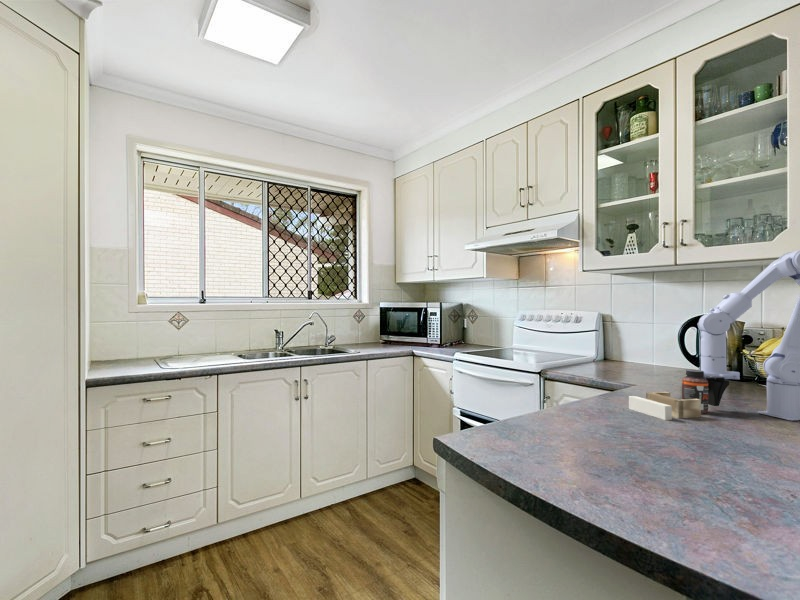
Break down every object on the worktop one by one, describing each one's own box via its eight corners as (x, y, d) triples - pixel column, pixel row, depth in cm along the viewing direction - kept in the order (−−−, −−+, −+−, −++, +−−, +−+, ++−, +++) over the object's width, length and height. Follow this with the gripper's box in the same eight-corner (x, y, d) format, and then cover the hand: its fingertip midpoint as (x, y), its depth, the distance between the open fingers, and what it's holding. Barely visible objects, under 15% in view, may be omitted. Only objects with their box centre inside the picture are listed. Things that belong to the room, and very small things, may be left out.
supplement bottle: (708, 415, 109) (708, 372, 109) (681, 411, 112) (681, 370, 112) (708, 411, 113) (708, 370, 114) (682, 407, 117) (682, 368, 117)
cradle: (666, 407, 117) (666, 391, 117) (700, 417, 107) (700, 399, 107) (646, 408, 115) (646, 392, 116) (678, 418, 105) (678, 400, 105)
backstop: (634, 408, 116) (634, 395, 116) (671, 419, 104) (671, 405, 104) (628, 408, 115) (628, 396, 115) (665, 420, 103) (665, 406, 104)
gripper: (702, 358, 110) (702, 409, 109) (750, 358, 111) (750, 408, 111) (681, 355, 117) (681, 403, 116) (726, 355, 118) (726, 402, 118)
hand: (713, 405), depth 114 cm, fingers closed
